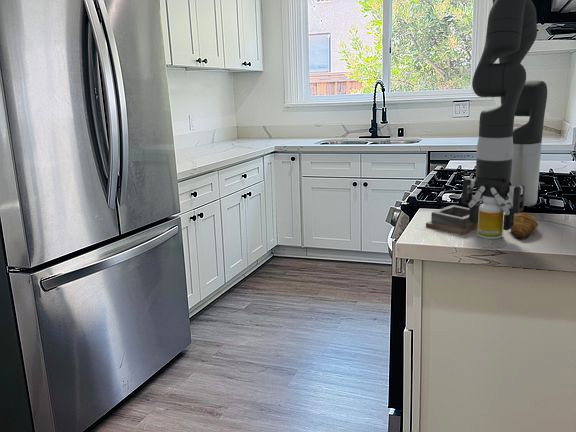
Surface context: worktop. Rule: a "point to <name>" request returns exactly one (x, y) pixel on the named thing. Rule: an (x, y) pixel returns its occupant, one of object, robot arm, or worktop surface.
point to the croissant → (523, 225)
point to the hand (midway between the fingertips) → (490, 225)
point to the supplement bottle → (490, 219)
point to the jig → (452, 220)
